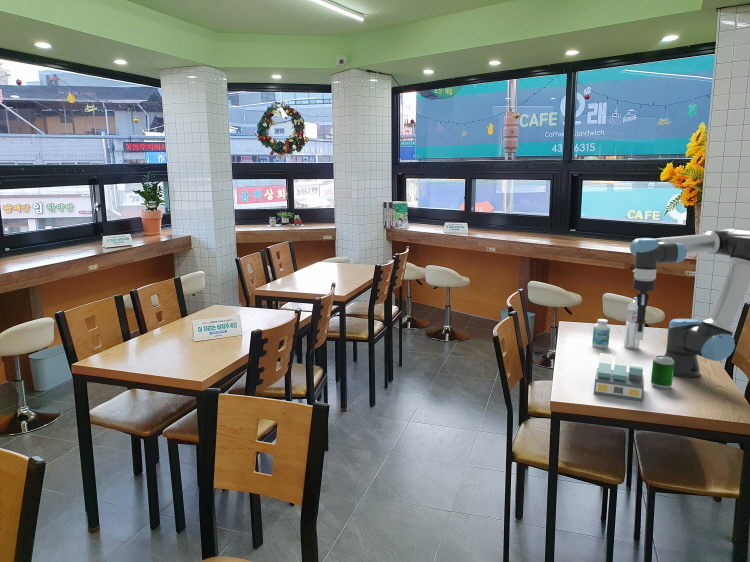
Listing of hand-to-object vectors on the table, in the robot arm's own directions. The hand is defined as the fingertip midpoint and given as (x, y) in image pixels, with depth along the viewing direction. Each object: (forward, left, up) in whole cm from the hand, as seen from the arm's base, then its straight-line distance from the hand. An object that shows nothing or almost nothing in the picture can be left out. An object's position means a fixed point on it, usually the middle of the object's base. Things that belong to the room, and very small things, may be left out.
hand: (638, 339), depth 220 cm
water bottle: (+1, -60, -21) cm, 64 cm away
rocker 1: (+11, +4, -12) cm, 17 cm away
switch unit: (+6, +5, -21) cm, 22 cm away
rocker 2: (+6, +4, -12) cm, 14 cm away
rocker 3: (0, +5, -12) cm, 13 cm away
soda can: (-10, -8, -21) cm, 24 cm away
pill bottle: (+15, -55, -21) cm, 61 cm away
